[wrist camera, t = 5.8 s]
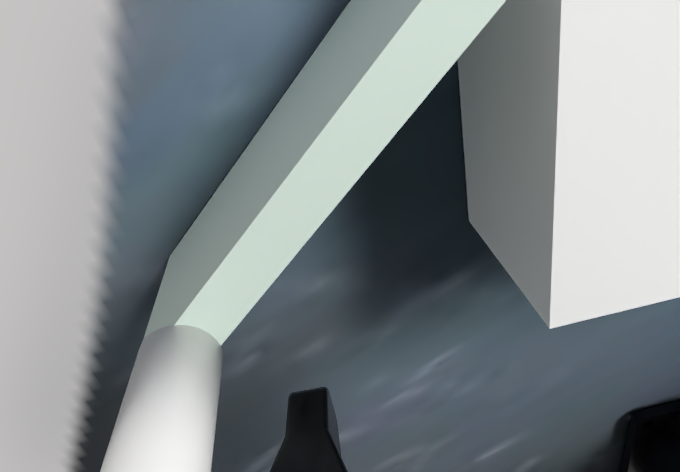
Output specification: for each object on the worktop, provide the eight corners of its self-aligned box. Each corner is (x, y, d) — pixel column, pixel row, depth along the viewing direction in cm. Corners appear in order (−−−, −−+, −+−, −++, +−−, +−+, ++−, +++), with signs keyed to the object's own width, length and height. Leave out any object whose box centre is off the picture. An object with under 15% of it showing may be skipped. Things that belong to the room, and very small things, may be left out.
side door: (210, 276, 14) (147, 632, 7) (160, 251, 14) (30, 613, 6) (439, -25, 11) (798, 26, 4) (387, -77, 10) (694, -145, 3)
